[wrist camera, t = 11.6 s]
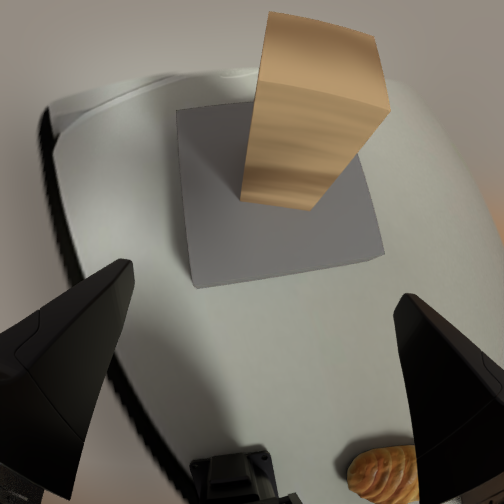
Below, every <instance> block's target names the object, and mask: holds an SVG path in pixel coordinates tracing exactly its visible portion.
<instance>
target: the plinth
mask: <svg viewBox="0 0 504 504" xmlns="http://www.w3.org/2000/svg"><path fill="white" fill-rule="evenodd" d="M253 106H254V102H245V103H233V104H223V105H213V106H205V107H197V108H190V109H183V110H176V118H177V135H178V150H179V163H180V176H181V187H182V198H183V208H184V217H185V226H186V235H187V244H188V252H189V260H190V267H191V275H192V282H193V286H194V287H195V288H197V289H200V288H207V287H214V286H221V285H227V284H234V283H240V282H247V281H253V280H260V279H266V278H272V277H278V276H285V275H291V274H297V273H303V272H308V271H314V270H320V269H326V268H332V267H337V266H343V265H349V264H354V263H360V262H365V261H369V260H372V259H374V258H377V257H379V256H382V255H384V254H385V251H384V247H383V243H382V238H381V234H380V230H379V226H378V222H377V218H376V214H375V210H374V207H373V203H372V199H371V196H370V192H369V189H368V185H367V182H366V179H365V175H364V172H363V169H362V166H361V163H360V160H359V156H358V153H357V154H356V155H355V157H354V158H353V159H352V160H351V162H350V163H349V164H348V165H347V166H346V168H345V169H344V170H343V171H342V173H341V174H340V175H339V176H338V178H337V179H336V180H335V181H334V183H333V184H332V185H331V186H330V187H329V189H328V190H327V191H326V192H325V194H324V195H323V196H322V197H321V198H320V200H319V201H318V202H317V203H316V205H315V206H314V207H313V208H312V209H311V211H305V210H299V209H292V208H285V207H278V206H271V205H264V204H257V203H250V202H242V201H240V196H241V189H242V181H243V174H244V167H245V160H246V152H247V145H248V138H249V132H250V125H251V119H252V112H253Z"/></svg>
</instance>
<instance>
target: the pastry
mask: <svg viewBox="0 0 504 504" xmlns="http://www.w3.org/2000/svg"><path fill="white" fill-rule="evenodd" d="M347 482H348V488H349V490H351V491H353V492H355V493H357V494H358V495H359V496H360V497H361V498H365V499H367V500H368V501H370V502H373V503H375V504H408V503H410V502H413V501H419V487H418V474H417V463H416V453H415V445H405V446H392V447H385V448H377V449H371V450H369V451H367V452H364V453H361V454H359V455H358V456H357V457H356V458H355V459H354V460H353V462H352V464H351V465H350V467H349V468H348V471H347Z"/></svg>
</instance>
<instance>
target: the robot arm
mask: <svg viewBox="0 0 504 504" xmlns="http://www.w3.org/2000/svg"><path fill="white" fill-rule="evenodd" d="M134 285H135V279H134V271H133V263H132V261H131V260H128V259H122V258H120V259H117V260H116V261H114V262H112V263H111V264H109V265H107V266H106V267H104V268H102V269H101V270H99V271H98V272H96V273H94V274H93V275H91V276H89V277H88V278H86V279H85V280H83V281H81V282H80V283H78V284H77V285H75V286H74V287H72V288H70V289H69V290H67V291H66V292H64V293H63V294H61V295H60V296H58V297H57V298H55V299H53V300H52V301H50V302H49V303H47V304H46V305H45V306H43V307H41V308H40V310H37V311H35V312H34V313H32V314H31V315H29V316H28V317H26V318H25V319H23V320H22V321H20V322H19V323H17V324H15V325H14V326H12V327H10V328H9V329H7V330H6V331H4V332H2V333H0V504H41V501H42V497H43V493H44V490H46V491H49V492H51V493H53V494H55V495H57V496H60V497H62V498H64V499H66V500H69V501H70V499H71V495H72V491H73V486H74V482H75V477H76V473H77V469H78V465H79V461H80V457H81V453H82V450H83V446H84V443H83V442H85V438H86V434H87V431H88V428H89V424H90V421H91V418H92V415H93V411H94V408H95V405H96V401H97V399H98V396H99V393H100V390H101V386H102V384H103V381H104V378H105V375H106V372H107V369H108V367H109V364H110V361H111V358H112V355H113V353H114V350H115V347H116V345H117V342H118V339H119V337H120V334H121V332H122V329H123V326H124V322H125V318H126V315H127V311H128V307H129V304H130V300H131V296H132V293H133V290H134ZM393 318H394V324H395V331H396V338H397V346H398V353H399V358H400V363H401V368H402V372H403V377H404V382H405V387H406V393H407V398H408V404H409V410H410V416H411V422H412V429H413V436H414V444H415V453H416V463H417V474H418V487H419V504H443V503H445V502H448V501H450V500H452V499H455V498H457V497H459V496H460V500H461V504H504V370H503V369H502V368H501V367H500V366H498V365H497V364H496V363H495V362H494V361H493V360H492V359H490V358H489V357H488V356H487V355H486V354H485V353H484V352H483V351H481V350H480V349H479V348H478V347H477V346H476V345H475V344H474V343H473V342H471V341H470V340H469V339H468V338H467V337H466V336H465V335H463V334H462V333H461V332H460V331H459V330H458V329H457V328H455V327H454V326H453V325H452V324H451V323H449V322H448V321H447V320H446V319H445V318H444V317H442V316H441V315H440V314H439V313H438V312H436V311H435V310H434V309H433V308H432V307H430V306H429V305H428V304H427V303H425V302H424V301H423V300H422V299H421V298H419V297H418V296H417V295H415V294H411V293H405V294H403V295H402V297H401V299H400V301H399V303H398V304H397V306H396V308H395V310H394V314H393ZM263 455H266V456H267V457H266V458H261V457H262V456H263ZM195 464H196V465H198V467H194V466H193V465H195ZM189 467H190V471H191V474H192V477H193V480H194V484H195V487H196V490H197V493H198V496H199V504H303V503H302V502H301V500H300V499H299V497H298V495H297V494H296V492H295V493H291V494H288V496H285V497H281V498H279V496H278V491H277V486H276V481H275V476H274V470H273V465H272V460H271V455H270V453H269V452H268V451H259V452H254V453H248V454H245V453H236V454H229V455H221V456H213V457H212V458H210V459H199V460H192V461H191V462H190V465H189Z"/></svg>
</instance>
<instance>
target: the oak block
mask: <svg viewBox="0 0 504 504" xmlns="http://www.w3.org/2000/svg"><path fill="white" fill-rule="evenodd" d="M390 111H391V109H390V104H389V99H388V94H387V89H386V84H385V79H384V75H383V70H382V66H381V63H380V58H379V54H378V50H377V47H376V43H375V39H374V36H371V35H368V34H365V33H362V32H359V31H355V30H352V29H349V28H345V27H341V26H338V25H334V24H330V23H326V22H322V21H318V20H314V19H309V18H304V17H299V16H294V15H289V14H283V13H276V12H269V14H268V20H267V26H266V32H265V38H264V44H263V50H262V56H261V62H260V68H259V74H258V80H257V87H256V93H255V99H254V106H253V112H252V119H251V125H250V132H249V138H248V145H247V152H246V160H245V167H244V174H243V181H242V189H241V196H240V201H242V202H250V203H257V204H264V205H271V206H278V207H285V208H292V209H299V210H305V211H311V209H312V208H313V207H314V206H315V205H316V203H317V202H318V201H319V200H320V198H321V197H322V196H323V195H324V194H325V192H326V191H327V190H328V189H329V187H330V186H331V185H332V184H333V183H334V181H335V180H336V179H337V178H338V176H339V175H340V174H341V173H342V171H343V170H344V169H345V168H346V166H347V165H348V164H349V163H350V162H351V160H352V159H353V158H354V157H355V155H356V154H357V153H358V152H359V150H360V149H361V148H362V147H363V145H364V144H365V143H366V142H367V140H368V139H369V138H370V137H371V135H372V134H373V133H374V132H375V130H376V129H377V128H378V126H379V125H380V124H381V123H382V121H383V120H384V119H385V118H386V116H387V115H388V114H389V113H390Z"/></svg>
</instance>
